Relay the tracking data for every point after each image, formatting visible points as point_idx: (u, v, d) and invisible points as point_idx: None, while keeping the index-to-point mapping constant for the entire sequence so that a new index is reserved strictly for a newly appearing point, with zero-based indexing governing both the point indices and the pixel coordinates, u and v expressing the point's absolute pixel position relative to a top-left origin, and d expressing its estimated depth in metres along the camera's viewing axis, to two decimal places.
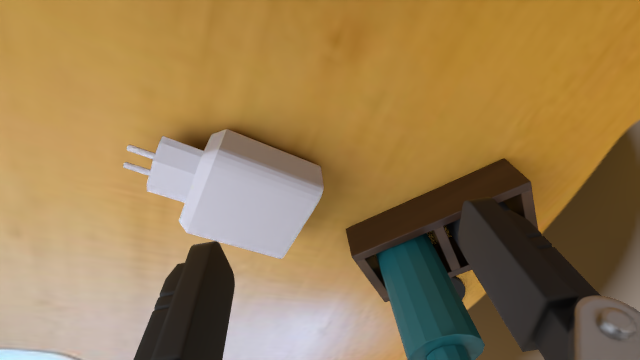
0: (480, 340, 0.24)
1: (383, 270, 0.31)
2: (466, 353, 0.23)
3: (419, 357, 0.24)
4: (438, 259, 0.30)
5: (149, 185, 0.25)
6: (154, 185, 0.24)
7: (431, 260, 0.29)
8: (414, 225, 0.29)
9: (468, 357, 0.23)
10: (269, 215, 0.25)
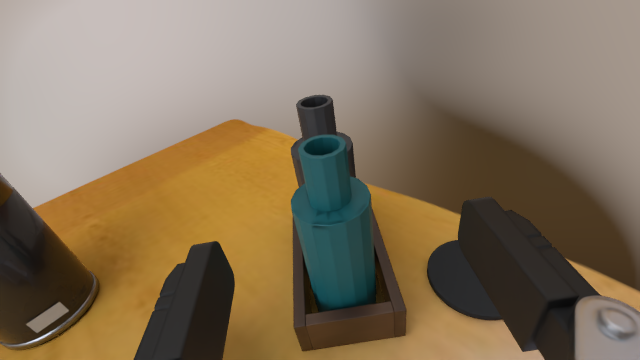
0: None
1: (325, 294, 0.26)
2: None
3: (318, 216, 0.22)
4: None
5: None
6: None
7: None
8: None
9: None
10: None
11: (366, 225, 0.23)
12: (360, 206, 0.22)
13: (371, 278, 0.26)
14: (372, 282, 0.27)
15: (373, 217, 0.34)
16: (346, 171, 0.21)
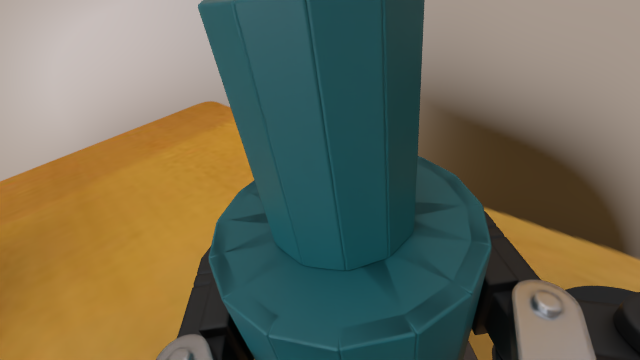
0: None
1: None
2: None
3: (299, 293, 0.05)
4: None
5: None
6: None
7: None
8: None
9: None
10: None
11: (472, 314, 0.06)
12: (461, 249, 0.06)
13: None
14: None
15: None
16: (419, 105, 0.05)
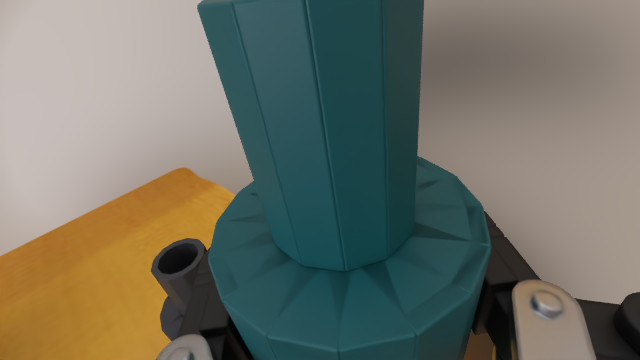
0: None
1: None
2: None
3: (298, 294, 0.05)
4: None
5: None
6: None
7: None
8: None
9: None
10: None
11: (472, 315, 0.06)
12: (460, 250, 0.06)
13: None
14: None
15: None
16: (418, 106, 0.05)
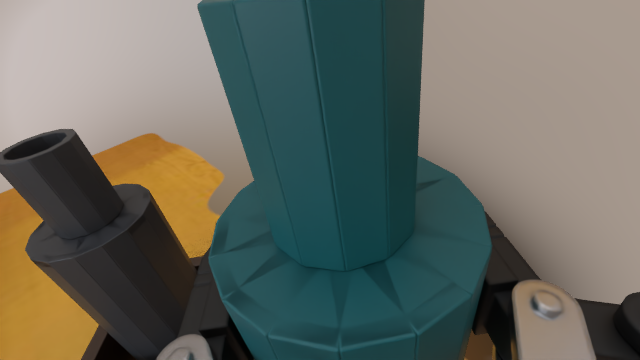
0: None
1: None
2: None
3: (299, 294, 0.05)
4: None
5: None
6: None
7: None
8: None
9: None
10: None
11: (473, 315, 0.06)
12: (461, 249, 0.06)
13: None
14: None
15: None
16: (419, 105, 0.05)
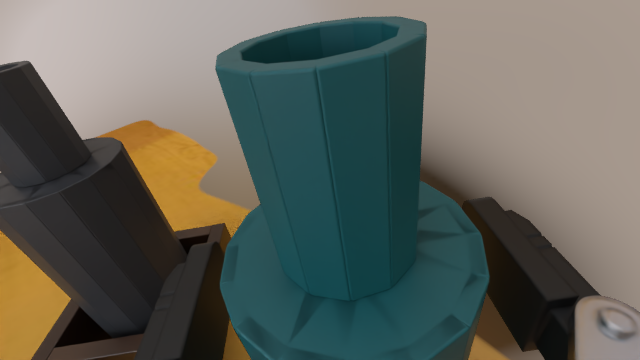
0: None
1: None
2: None
3: (307, 323, 0.06)
4: None
5: None
6: None
7: None
8: None
9: None
10: None
11: (471, 340, 0.07)
12: (459, 280, 0.06)
13: None
14: None
15: None
16: (420, 151, 0.05)
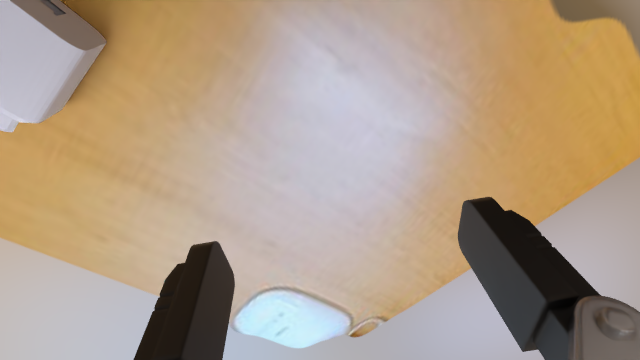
0: None
1: None
2: None
3: None
4: None
5: None
6: None
7: None
8: None
9: None
10: None
11: None
12: None
13: None
14: None
15: None
16: None
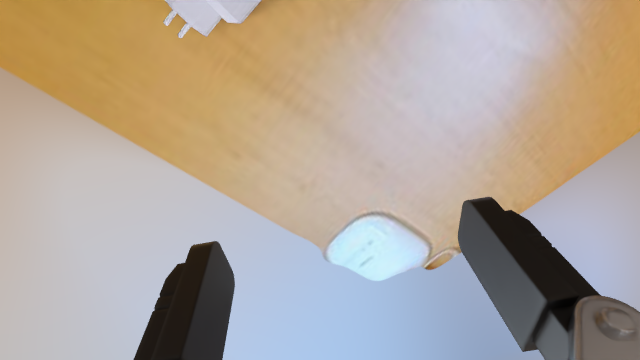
0: None
1: None
2: None
3: None
4: None
5: (193, 26, 0.32)
6: (193, 21, 0.32)
7: None
8: None
9: None
10: None
11: None
12: None
13: None
14: None
15: None
16: None
